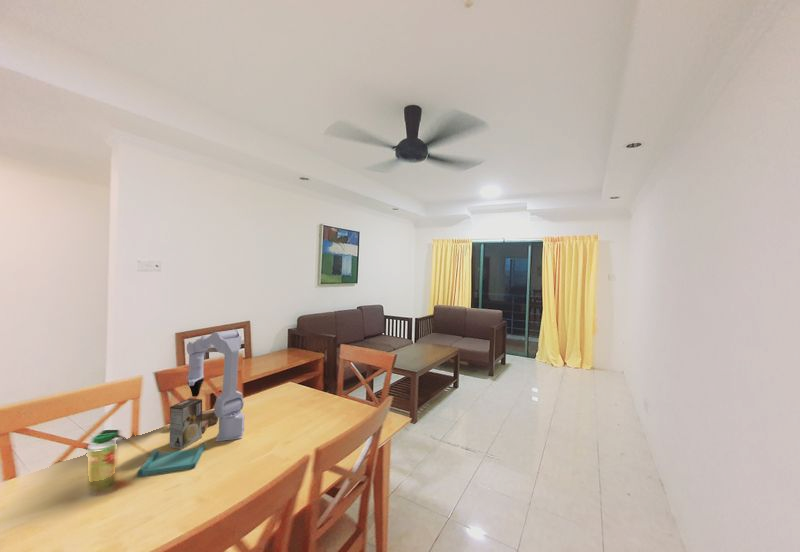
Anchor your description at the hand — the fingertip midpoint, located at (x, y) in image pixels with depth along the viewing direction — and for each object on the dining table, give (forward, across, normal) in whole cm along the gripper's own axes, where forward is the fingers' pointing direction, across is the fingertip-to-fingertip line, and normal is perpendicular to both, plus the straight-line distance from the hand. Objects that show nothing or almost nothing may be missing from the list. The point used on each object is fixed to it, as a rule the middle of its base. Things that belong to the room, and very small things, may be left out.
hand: (195, 395), depth 143 cm
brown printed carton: (+10, +11, +3) cm, 15 cm away
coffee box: (+11, +22, +3) cm, 25 cm away
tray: (+10, +34, +2) cm, 36 cm away
